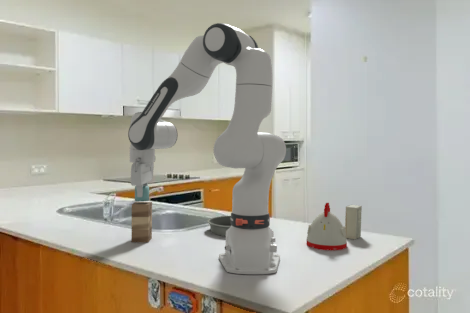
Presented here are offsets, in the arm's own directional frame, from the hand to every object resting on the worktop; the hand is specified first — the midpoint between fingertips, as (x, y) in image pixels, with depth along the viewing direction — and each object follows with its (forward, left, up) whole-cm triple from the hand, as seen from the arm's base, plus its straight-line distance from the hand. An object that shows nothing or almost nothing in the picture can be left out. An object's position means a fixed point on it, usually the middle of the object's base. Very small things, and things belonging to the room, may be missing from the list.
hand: (142, 195), depth 146 cm
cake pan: (+17, -35, -17) cm, 42 cm away
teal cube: (0, 0, -2) cm, 2 cm away
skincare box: (+8, -79, -16) cm, 81 cm away
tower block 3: (0, 0, -16) cm, 16 cm away
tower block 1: (0, 0, -7) cm, 7 cm away
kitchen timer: (-4, -66, -16) cm, 68 cm away
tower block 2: (0, 0, -12) cm, 12 cm away
